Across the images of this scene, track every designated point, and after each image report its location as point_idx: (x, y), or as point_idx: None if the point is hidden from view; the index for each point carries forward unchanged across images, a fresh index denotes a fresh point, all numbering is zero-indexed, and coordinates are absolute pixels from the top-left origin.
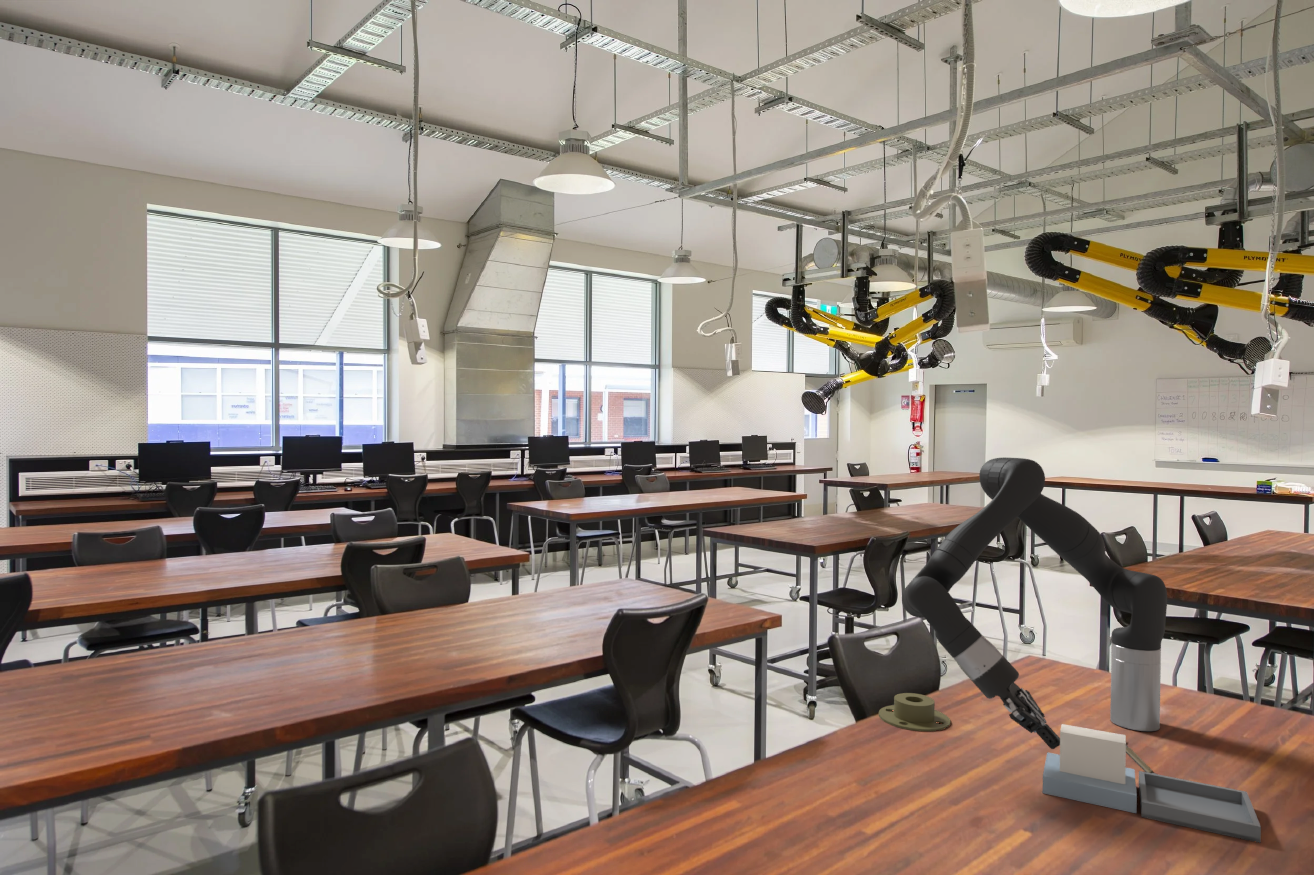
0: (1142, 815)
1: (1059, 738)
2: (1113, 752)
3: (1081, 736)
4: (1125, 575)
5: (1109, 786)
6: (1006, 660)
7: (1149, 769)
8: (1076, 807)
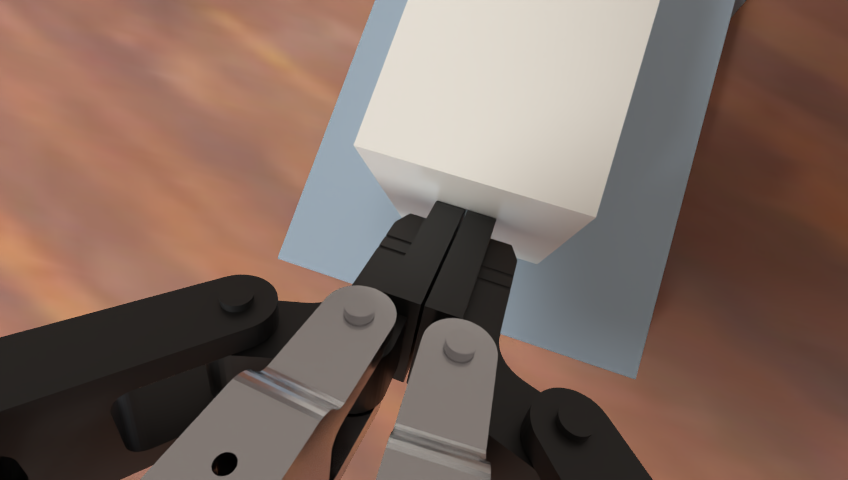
0: (732, 13)
1: (447, 211)
2: None
3: (642, 48)
4: None
5: (668, 68)
6: None
7: None
8: (718, 254)
